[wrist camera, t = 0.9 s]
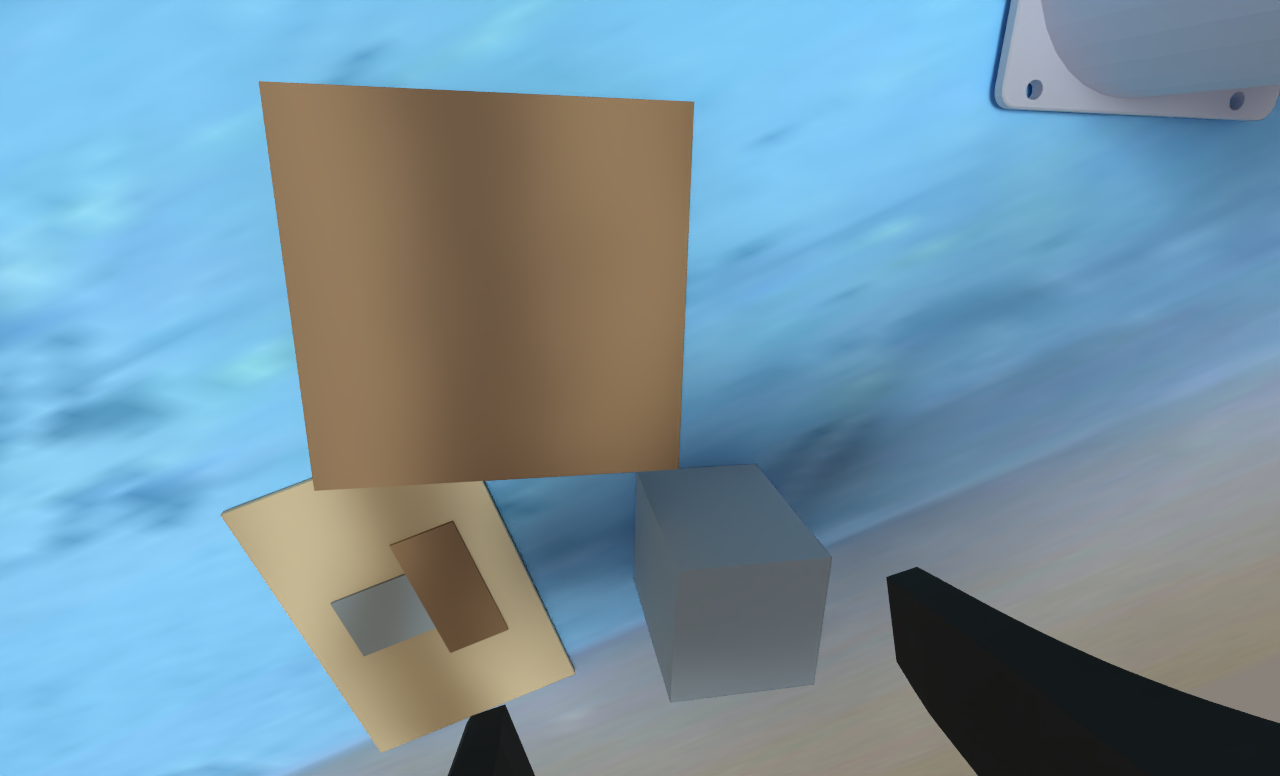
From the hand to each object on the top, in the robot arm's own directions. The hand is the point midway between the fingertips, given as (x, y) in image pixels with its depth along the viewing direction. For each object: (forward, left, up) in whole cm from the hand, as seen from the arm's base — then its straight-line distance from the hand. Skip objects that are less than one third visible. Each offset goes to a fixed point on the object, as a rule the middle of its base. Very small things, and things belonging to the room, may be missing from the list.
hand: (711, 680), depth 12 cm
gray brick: (-2, +2, -10) cm, 10 cm away
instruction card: (+7, +4, -10) cm, 12 cm away
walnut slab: (+4, -6, -9) cm, 11 cm away
